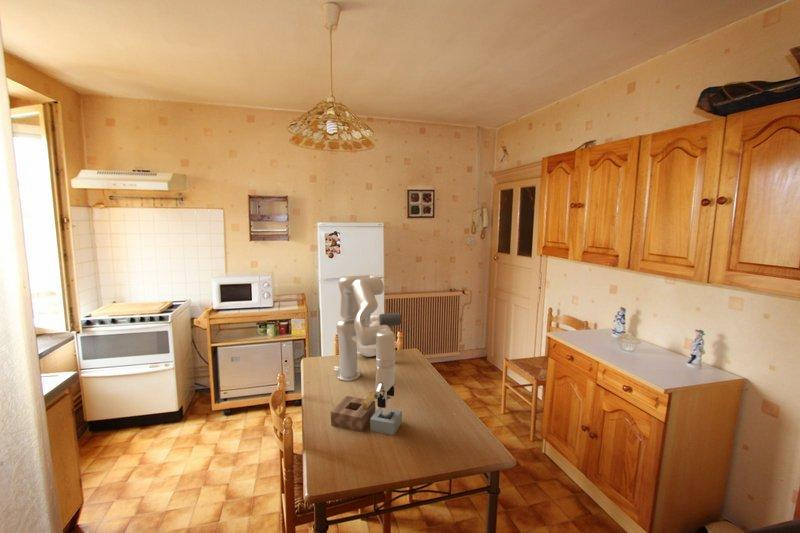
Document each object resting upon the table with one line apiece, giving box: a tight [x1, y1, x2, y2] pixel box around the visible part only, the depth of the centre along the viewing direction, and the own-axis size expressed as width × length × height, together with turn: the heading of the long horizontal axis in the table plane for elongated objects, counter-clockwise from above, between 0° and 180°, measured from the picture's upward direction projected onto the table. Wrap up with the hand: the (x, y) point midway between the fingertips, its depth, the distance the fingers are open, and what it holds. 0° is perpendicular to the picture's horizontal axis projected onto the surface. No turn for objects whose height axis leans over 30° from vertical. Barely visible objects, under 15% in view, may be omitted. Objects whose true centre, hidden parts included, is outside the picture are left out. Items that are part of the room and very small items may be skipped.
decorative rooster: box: [352, 314, 380, 358], centre depth 225 cm, size 25×16×25 cm, turn 109°
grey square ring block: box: [369, 407, 403, 436], centre depth 150 cm, size 10×10×5 cm
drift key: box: [362, 390, 377, 409], centre depth 157 cm, size 4×10×2 cm, turn 160°
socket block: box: [330, 395, 377, 432], centre depth 155 cm, size 14×14×6 cm
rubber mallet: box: [378, 312, 402, 332], centre depth 212 cm, size 12×8×30 cm, turn 101°
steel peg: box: [381, 395, 392, 420], centre depth 149 cm, size 4×4×12 cm
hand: (386, 401), depth 149 cm, fingers open, 9 cm apart
